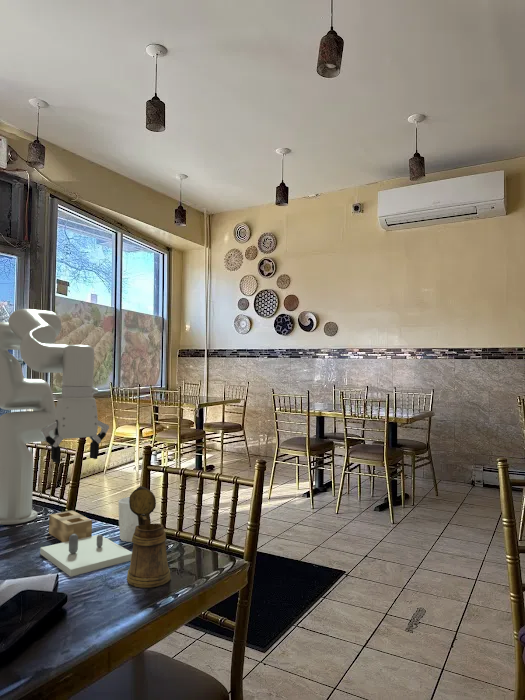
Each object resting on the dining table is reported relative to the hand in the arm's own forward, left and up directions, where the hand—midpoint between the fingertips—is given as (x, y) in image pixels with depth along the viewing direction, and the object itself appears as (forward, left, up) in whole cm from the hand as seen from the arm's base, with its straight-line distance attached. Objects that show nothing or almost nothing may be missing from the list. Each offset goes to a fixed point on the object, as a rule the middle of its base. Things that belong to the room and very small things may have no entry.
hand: (75, 460), depth 128 cm
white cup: (+5, +14, -22) cm, 26 cm away
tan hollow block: (-7, +2, -21) cm, 23 cm away
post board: (+10, -1, -21) cm, 23 cm away
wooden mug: (+29, +4, -22) cm, 36 cm away
